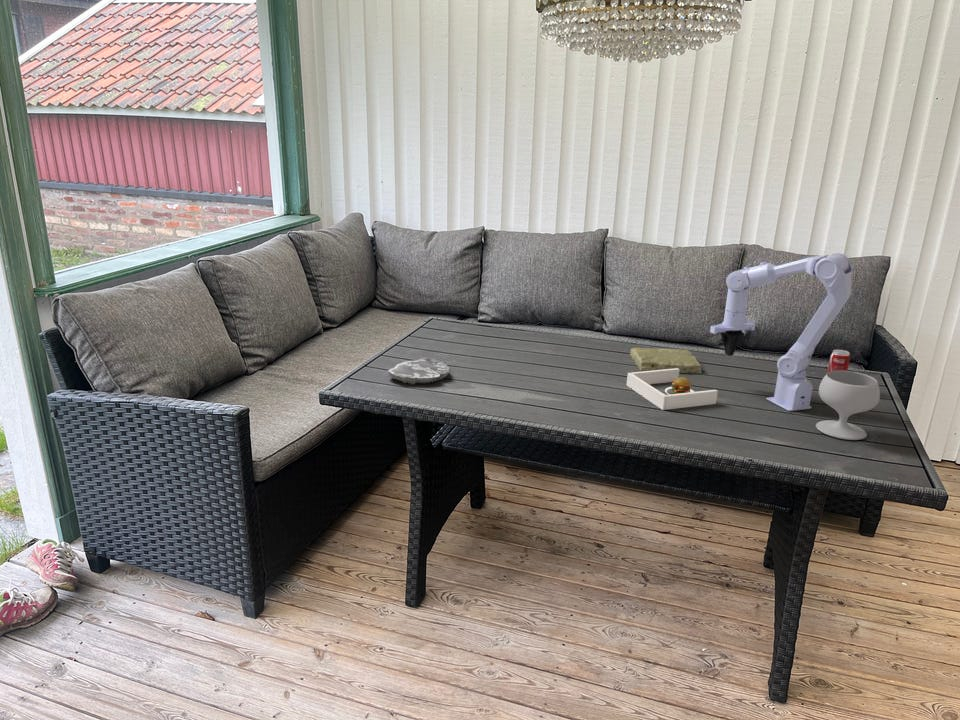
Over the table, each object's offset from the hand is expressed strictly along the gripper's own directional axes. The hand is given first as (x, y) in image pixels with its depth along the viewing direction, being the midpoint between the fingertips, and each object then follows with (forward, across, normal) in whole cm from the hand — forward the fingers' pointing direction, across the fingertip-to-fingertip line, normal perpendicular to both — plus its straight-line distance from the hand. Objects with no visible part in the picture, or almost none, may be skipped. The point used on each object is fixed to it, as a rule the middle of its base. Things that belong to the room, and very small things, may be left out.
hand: (729, 354), depth 208 cm
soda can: (+11, -32, +11) cm, 35 cm away
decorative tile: (+11, +5, -24) cm, 27 cm away
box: (+10, +20, +1) cm, 22 cm away
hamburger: (+11, +16, +1) cm, 20 cm away
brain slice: (+11, +86, -33) cm, 93 cm away
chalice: (+11, -9, +36) cm, 39 cm away
